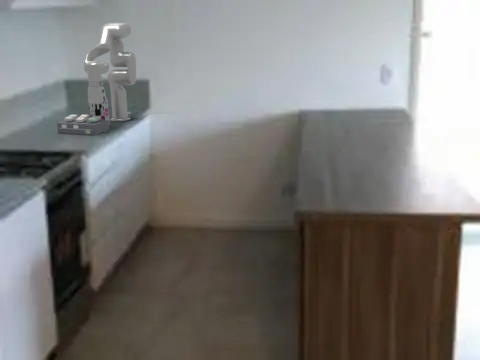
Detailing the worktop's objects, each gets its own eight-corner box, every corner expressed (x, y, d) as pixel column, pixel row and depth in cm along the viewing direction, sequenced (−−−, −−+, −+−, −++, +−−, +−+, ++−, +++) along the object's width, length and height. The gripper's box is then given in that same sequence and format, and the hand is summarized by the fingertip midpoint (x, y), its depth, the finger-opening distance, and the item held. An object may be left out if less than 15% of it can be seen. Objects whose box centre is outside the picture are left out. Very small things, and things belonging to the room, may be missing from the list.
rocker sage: (94, 118, 407) (94, 115, 407) (100, 118, 406) (100, 115, 405) (87, 121, 401) (87, 119, 401) (94, 122, 400) (93, 119, 399)
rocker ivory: (82, 116, 410) (82, 114, 409) (89, 117, 408) (88, 114, 408) (76, 121, 405) (75, 119, 404) (82, 122, 403) (82, 119, 402)
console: (72, 128, 419) (71, 117, 418) (109, 130, 410) (108, 119, 408) (57, 133, 407) (56, 121, 405) (95, 135, 397) (94, 123, 395)
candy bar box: (110, 125, 425) (108, 98, 421) (105, 127, 421) (103, 100, 417) (95, 124, 430) (93, 98, 426) (90, 126, 426) (88, 99, 422)
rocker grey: (71, 117, 413) (71, 114, 413) (77, 117, 412) (77, 114, 411) (64, 120, 407) (64, 118, 407) (71, 121, 406) (70, 118, 405)
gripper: (110, 83, 402) (112, 115, 407) (88, 83, 408) (91, 114, 413) (102, 85, 396) (105, 117, 400) (80, 84, 401) (83, 116, 406)
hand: (98, 115), depth 407 cm, fingers closed
